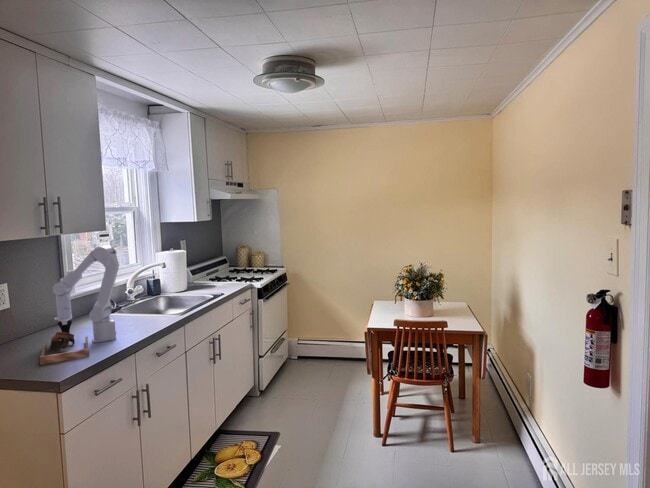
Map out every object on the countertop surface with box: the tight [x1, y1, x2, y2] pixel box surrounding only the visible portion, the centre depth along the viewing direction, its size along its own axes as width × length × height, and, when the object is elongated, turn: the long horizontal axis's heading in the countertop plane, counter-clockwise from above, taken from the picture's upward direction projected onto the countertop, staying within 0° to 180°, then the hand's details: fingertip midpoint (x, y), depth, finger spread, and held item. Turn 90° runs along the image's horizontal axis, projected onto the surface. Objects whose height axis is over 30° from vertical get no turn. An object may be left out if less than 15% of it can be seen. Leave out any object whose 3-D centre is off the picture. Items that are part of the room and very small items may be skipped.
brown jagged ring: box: [48, 331, 76, 352], centre depth 191 cm, size 12×10×8 cm
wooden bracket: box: [39, 336, 90, 365], centre depth 185 cm, size 17×23×3 cm
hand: (66, 336), depth 200 cm, fingers closed
